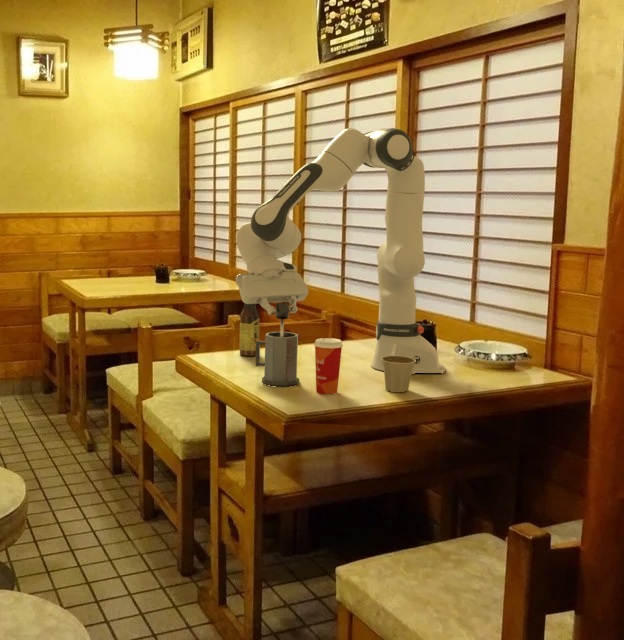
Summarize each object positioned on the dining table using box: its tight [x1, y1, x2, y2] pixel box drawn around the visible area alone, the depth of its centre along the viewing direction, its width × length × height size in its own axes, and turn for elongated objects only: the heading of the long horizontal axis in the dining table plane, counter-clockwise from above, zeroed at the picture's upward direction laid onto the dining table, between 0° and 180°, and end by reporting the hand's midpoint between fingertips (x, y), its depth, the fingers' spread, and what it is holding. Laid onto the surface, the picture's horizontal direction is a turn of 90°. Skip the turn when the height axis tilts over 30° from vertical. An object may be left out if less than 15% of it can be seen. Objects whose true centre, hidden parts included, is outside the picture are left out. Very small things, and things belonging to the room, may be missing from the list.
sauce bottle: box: [238, 302, 260, 357], centre depth 252 cm, size 7×6×20 cm
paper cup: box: [313, 337, 344, 395], centre depth 209 cm, size 8×8×14 cm
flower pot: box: [381, 356, 416, 393], centre depth 214 cm, size 9×9×9 cm
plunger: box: [275, 302, 290, 337], centre depth 216 cm, size 6×6×18 cm
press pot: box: [255, 331, 300, 388], centre depth 217 cm, size 12×10×14 cm
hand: (283, 312), depth 215 cm, fingers open, 6 cm apart
